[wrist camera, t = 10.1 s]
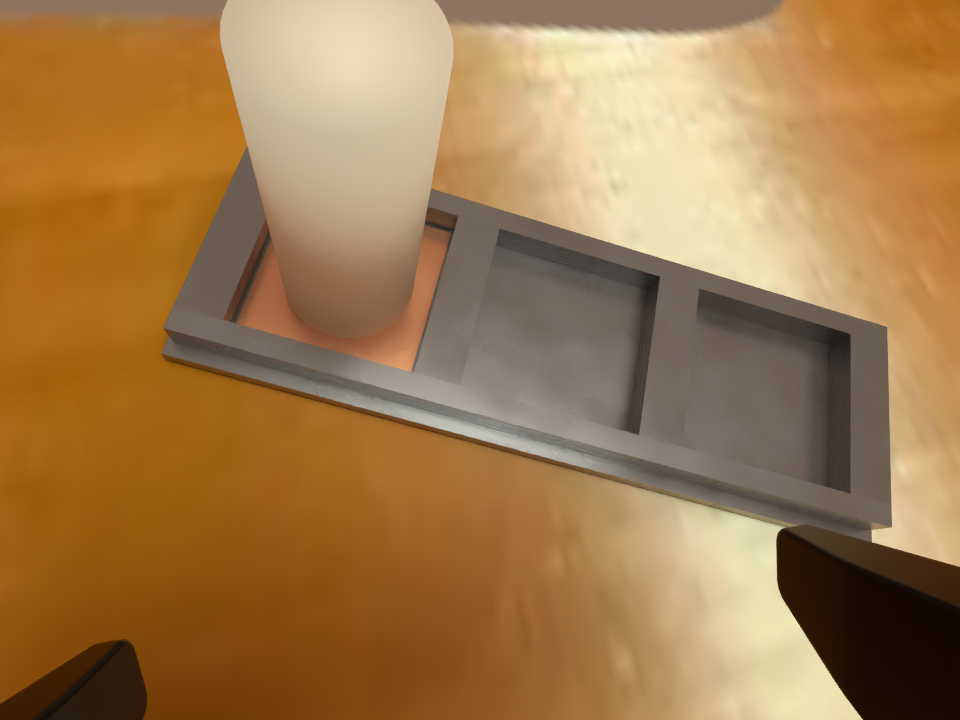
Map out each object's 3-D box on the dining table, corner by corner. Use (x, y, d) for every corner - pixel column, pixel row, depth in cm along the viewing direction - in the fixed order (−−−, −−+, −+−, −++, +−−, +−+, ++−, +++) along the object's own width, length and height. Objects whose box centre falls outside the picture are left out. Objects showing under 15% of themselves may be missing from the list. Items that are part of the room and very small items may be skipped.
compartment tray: (858, 334, 27) (891, 317, 26) (859, 546, 24) (897, 543, 22) (258, 153, 25) (251, 122, 23) (166, 359, 22) (150, 340, 20)
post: (372, 362, 22) (381, 172, 12) (257, 297, 22) (168, 52, 12) (435, 262, 24) (491, 22, 14) (329, 203, 24) (305, -82, 14)
